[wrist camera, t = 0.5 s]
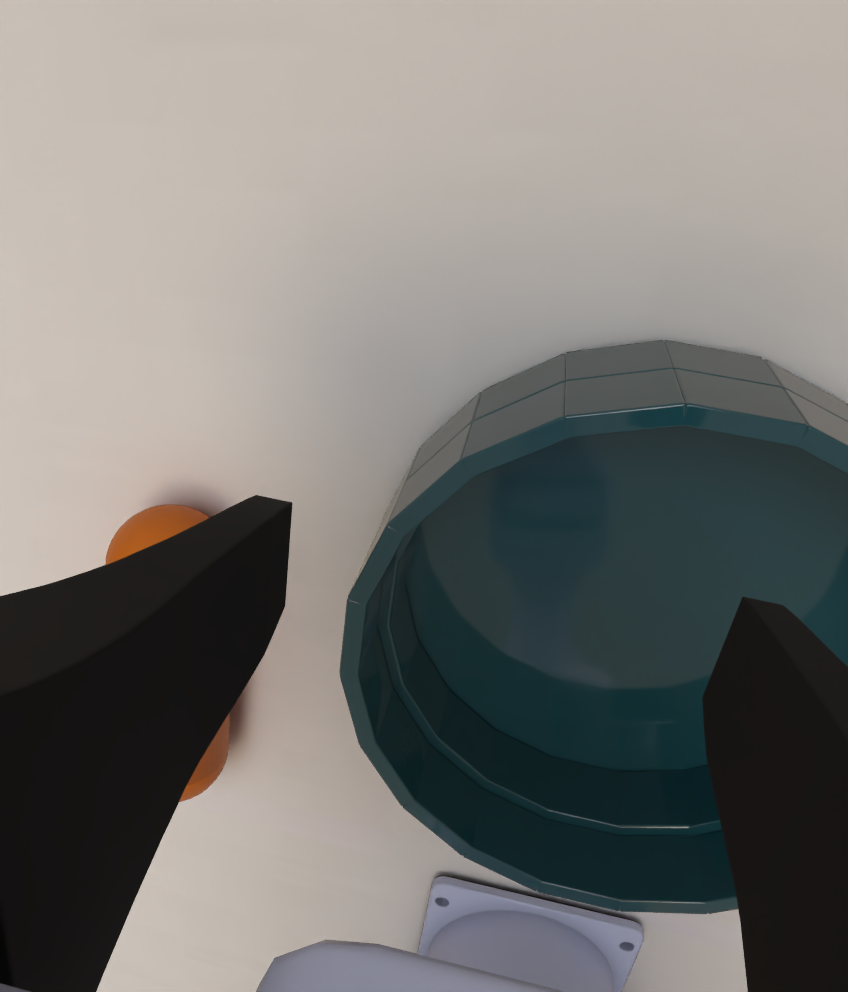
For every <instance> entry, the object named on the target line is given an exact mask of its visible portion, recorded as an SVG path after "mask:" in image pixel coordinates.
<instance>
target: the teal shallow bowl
mask: <svg viewBox="0 0 848 992" xmlns="http://www.w3.org/2000/svg"><path fill="white" fill-rule="evenodd" d="M742 597H747V598H752V599H757V600H762V601H766V602H771V603H776V604H781V605H784V606H785V607H786V608H787V609H788V610H790V611H791V612H792V613H793V614H794V615H795V616H796V617H797V618H799V619H800V620H801V621H802V622H803V623H804V624H805V625H806V626H807V627H808V628H809V629H810V630H811V631H812V632H813V633H814V634H815V635H816V636H817V637H818V638H819V639H820V640H821V641H822V642H823V643H824V644H825V645H826V646H827V647H828V648H829V649H830V650H831V651H832V652H833V653H834V654H835V655H836V656H837V657H838V658H839V659H840V660H841V661H842V662H843V663H844V664H845V665H846V666H847V667H848V404H846V403H845V402H844V401H843V400H841V399H839V398H837V397H835V396H833V395H832V394H830V393H828V392H826V391H824V390H822V389H820V388H819V387H817V386H815V385H813V384H811V383H809V382H807V381H806V380H804V379H802V378H800V377H798V376H796V375H794V374H792V373H791V372H789V371H787V370H785V369H783V368H781V367H779V366H778V365H776V364H774V363H772V362H770V361H768V360H766V359H762V357H759V356H753V355H748V354H742V353H736V352H730V351H725V350H719V349H713V348H707V347H702V346H696V345H690V344H685V343H679V342H673V341H667V340H665V341H663V340H659V341H652V342H644V343H636V344H628V345H620V346H612V347H604V348H596V349H588V350H580V351H572V352H567V353H566V354H562V355H560V356H557V357H555V358H553V359H551V360H549V361H546V362H544V363H542V364H540V365H537V366H535V367H533V368H531V369H529V370H526V371H524V372H522V373H520V374H518V375H515V376H513V377H511V378H509V379H506V380H504V381H502V382H500V383H498V384H495V385H493V386H491V387H489V388H487V389H484V390H483V392H480V393H479V394H477V395H476V396H475V397H474V398H473V399H472V400H471V401H470V402H469V403H468V404H467V405H465V406H464V407H463V408H462V409H461V410H460V411H459V412H458V413H457V414H456V415H455V416H453V417H452V418H451V419H450V420H449V421H448V422H447V423H446V424H445V425H444V426H442V427H441V428H440V429H439V430H438V431H437V432H436V433H435V434H434V435H433V436H432V437H430V438H429V439H428V440H427V441H426V442H425V443H424V444H423V445H422V446H421V448H419V450H418V452H417V454H416V455H415V457H414V459H413V461H412V463H411V465H410V467H409V469H408V471H407V472H406V474H405V476H404V478H403V480H402V482H401V484H400V486H399V488H398V489H397V491H396V493H395V495H394V497H393V499H392V501H391V503H390V505H389V507H388V508H387V510H386V512H385V515H384V517H383V519H382V521H381V524H380V526H379V528H378V530H377V533H376V535H375V537H374V539H373V541H372V544H371V546H370V548H369V551H368V553H367V555H366V557H365V559H364V562H363V564H362V566H361V568H360V571H359V573H358V575H357V577H356V580H355V582H354V584H353V586H352V588H351V591H350V593H349V595H348V599H347V605H346V614H345V624H344V633H343V643H342V653H341V662H340V678H341V682H342V685H343V689H344V692H345V696H346V700H347V703H348V707H349V710H350V714H351V717H352V721H353V725H354V728H355V732H356V735H357V739H358V742H359V745H360V747H361V748H362V750H363V751H364V753H365V754H366V756H367V757H368V759H369V760H370V761H371V763H372V764H373V766H374V767H375V769H376V770H377V772H378V773H379V774H380V776H381V777H382V779H383V780H384V782H385V783H386V784H387V786H388V787H389V789H390V790H391V792H392V793H393V795H394V796H395V797H396V799H397V800H398V802H399V803H400V805H401V806H403V808H404V809H405V810H406V811H408V812H409V813H410V814H411V815H413V816H414V817H415V818H416V819H417V820H419V821H420V822H421V823H422V824H424V825H425V826H426V827H427V828H428V829H430V830H431V831H432V832H433V833H435V834H436V835H437V836H438V837H440V838H441V839H442V840H443V841H444V842H446V843H447V844H448V845H449V846H451V847H452V848H453V849H454V850H455V851H457V852H458V853H459V854H460V855H463V856H464V857H465V858H467V859H469V860H471V861H473V862H475V863H478V864H480V865H482V866H484V867H486V868H488V869H490V870H492V871H494V872H496V873H498V874H501V875H503V876H505V877H507V878H509V879H511V880H513V881H515V882H517V883H519V884H521V885H524V886H526V887H528V888H530V889H532V890H534V891H537V892H540V893H544V894H548V895H553V896H557V897H561V898H565V899H569V900H574V901H578V902H582V903H586V904H590V905H595V906H599V907H603V908H607V909H611V910H616V911H619V910H620V911H622V912H653V913H685V914H707V913H709V914H712V913H718V912H723V911H729V910H735V909H738V903H737V898H736V892H735V886H734V882H733V877H732V873H731V868H730V864H729V859H728V855H727V850H726V846H725V841H724V837H723V832H722V828H721V823H720V819H719V814H718V810H717V805H716V800H715V796H714V791H713V786H712V782H711V777H710V772H709V767H708V762H707V757H706V748H705V736H704V721H703V702H702V697H703V694H704V692H705V689H706V687H707V684H708V682H709V679H710V677H711V674H712V672H713V669H714V667H715V664H716V662H717V659H718V657H719V654H720V652H721V649H722V647H723V644H724V642H725V639H726V637H727V634H728V632H729V629H730V627H731V624H732V622H733V619H734V617H735V614H736V612H737V609H738V607H739V604H740V602H741V599H742Z"/></svg>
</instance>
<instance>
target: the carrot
mask: <svg viewBox="0 0 848 992" xmlns="http://www.w3.org/2000/svg"><path fill="white" fill-rule="evenodd" d="M208 518H209V517H208V516H207V515H205V514H204V513H202V512H200V511H197V510H195V509H193V508H190V507H187V506H182V505H160V506H155V507H151V508H148V509H145V510H143V511H141V512H140V513H138V514H136V515H134V516H132V517H131V518H130V519H128V520H127V521H126V522H125V523H124V524H123V525H122V526H121V527H120V528H119V530H118V531H117V532H116V534H115V536H114V537H113V539H112V540H111V543H110V545H109V548H108V552H107V555H106V565H107V564H109V563H112V562H115V561H117V560H120V559H122V558H124V557H127V556H129V555H131V554H133V553H136V552H138V551H140V550H143V549H145V548H147V547H149V546H152V545H154V544H156V543H159V542H161V541H163V540H166V539H168V538H170V537H172V536H174V535H176V534H178V533H180V532H182V531H184V530H186V529H188V528H190V527H192V526H194V525H196V524H198V523H200V522H202V521H204V520H206V519H208ZM229 728H230V713H229V714H228V716H227V717H226V719H225V721H224V722H223V724H222V726H221V727H220V729H219V731H218V732H217V734H216V736H215V737H214V739H213V740H212V742H211V744H210V745H209V747H208V749H207V750H206V752H205V754H204V755H203V757H202V759H201V760H200V762H199V764H198V766H197V767H196V769H195V771H194V773H193V775H192V777H191V778H190V780H189V782H188V784H187V786H186V788H185V790H184V792H183V794H182V796H181V799H180V801H179V802H181V801H185V800H188V799H191V798H193V797H195V796H197V795H199V794H200V793H202V792H203V791H205V790H206V789H207V788H208V787H209V786H210V785H211V784H212V783H213V782H214V781H215V780H216V779H217V777H218V776H219V774H220V773H221V771H222V769H223V767H224V765H225V762H226V759H227V755H228V749H229Z"/></svg>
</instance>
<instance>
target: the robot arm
mask: <svg viewBox="0 0 848 992" xmlns="http://www.w3.org/2000/svg"><path fill="white" fill-rule="evenodd" d="M291 514H292V503H291V502H287V501H282V500H277V499H272V498H267V497H263V496H258V495H256V496H253V497H251V498H248V499H246V500H244V501H242V502H240V503H238V504H236V505H234V506H232V507H230V508H228V509H226V510H224V511H222V512H220V513H218V514H216V515H214V516H212V517H210V518H208V519H206V520H204V521H202V522H200V523H198V524H196V525H194V526H192V527H190V528H188V529H186V530H184V531H182V532H180V533H178V534H176V535H174V536H172V537H170V538H168V539H166V540H163V541H161V542H159V543H156V544H154V545H152V546H149V547H147V548H145V549H143V550H140V551H138V552H136V553H133V554H131V555H129V556H127V557H124V558H122V559H120V560H117V561H115V562H112V563H109V564H107V565H104V566H102V567H99V568H96V569H93V570H91V571H88V572H85V573H82V574H79V575H76V576H72V577H69V578H66V579H63V580H60V581H57V582H54V583H50V584H47V585H44V586H40V587H36V588H32V589H28V590H24V591H20V592H16V593H12V594H8V595H4V596H0V992H96V991H97V988H98V986H99V983H100V981H101V978H102V976H103V973H104V971H105V968H106V966H107V964H108V961H109V959H110V957H111V954H112V952H113V949H114V947H115V945H116V942H117V940H118V938H119V935H120V933H121V930H122V928H123V926H124V923H125V921H126V919H127V916H128V914H129V911H130V909H131V907H132V904H133V902H134V900H135V897H136V895H137V893H138V891H139V888H140V886H141V884H142V882H143V879H144V877H145V875H146V873H147V870H148V868H149V866H150V864H151V862H152V859H153V857H154V855H155V853H156V850H157V848H158V846H159V844H160V841H161V839H162V837H163V835H164V833H165V831H166V828H167V826H168V824H169V822H170V820H171V818H172V816H173V814H174V811H175V809H176V807H177V805H178V803H179V801H180V799H181V796H182V794H183V792H184V790H185V788H186V786H187V784H188V782H189V780H190V778H191V777H192V775H193V773H194V771H195V769H196V767H197V766H198V764H199V762H200V760H201V759H202V757H203V755H204V754H205V752H206V750H207V749H208V747H209V745H210V744H211V742H212V740H213V739H214V737H215V736H216V734H217V732H218V731H219V729H220V727H221V726H222V724H223V722H224V721H225V719H226V717H227V716H228V714H229V713H230V711H231V709H232V708H233V706H234V704H235V703H236V701H237V699H238V698H239V696H240V694H241V693H242V691H243V690H244V688H245V686H246V684H247V683H248V681H249V679H250V678H251V676H252V674H253V673H254V671H255V669H256V668H257V666H258V664H259V663H260V661H261V659H262V658H263V656H264V654H265V651H266V649H267V647H268V645H269V642H270V640H271V638H272V636H273V633H274V631H275V629H276V626H277V624H278V621H279V619H280V617H281V614H282V612H283V609H284V607H285V598H286V584H287V570H288V556H289V542H290V528H291ZM702 702H703V721H704V736H705V748H706V757H707V762H708V767H709V772H710V777H711V782H712V786H713V791H714V796H715V800H716V805H717V810H718V814H719V819H720V823H721V828H722V832H723V837H724V841H725V846H726V850H727V855H728V859H729V864H730V868H731V873H732V877H733V882H734V886H735V892H736V898H737V903H738V909H739V915H740V921H741V931H742V940H743V949H744V958H745V968H746V977H747V987H748V992H848V667H847V666H846V665H845V664H844V663H843V662H842V661H841V660H840V659H839V658H838V657H837V656H836V655H835V654H834V653H833V652H832V651H831V650H830V649H829V648H828V647H827V646H826V645H825V644H824V643H823V642H822V641H821V640H820V639H819V638H818V637H817V636H816V635H815V634H814V633H813V632H812V631H811V630H810V629H809V628H808V627H807V626H806V625H805V624H804V623H803V622H802V621H801V620H800V619H799V618H797V617H796V616H795V615H794V614H793V613H792V612H791V611H790V610H788V609H787V608H786V607H785V606H784V605H781V604H776V603H771V602H766V601H762V600H757V599H752V598H747V597H742V599H741V602H740V604H739V607H738V609H737V612H736V614H735V617H734V619H733V622H732V624H731V627H730V629H729V632H728V634H727V637H726V639H725V642H724V644H723V647H722V649H721V652H720V654H719V657H718V659H717V662H716V664H715V667H714V669H713V672H712V674H711V677H710V679H709V682H708V684H707V687H706V689H705V692H704V694H703V697H702ZM643 941H644V932H643V928H642V926H641V925H640V924H638V923H637V922H634V921H631V920H627V919H622V918H618V917H614V916H610V915H606V914H601V913H597V912H593V911H589V910H585V909H581V908H576V907H572V906H568V905H564V904H560V903H555V902H551V901H547V900H543V899H539V898H534V897H530V896H526V895H522V894H518V893H513V892H509V891H505V890H501V889H497V888H493V887H488V886H484V885H480V884H476V883H472V882H467V881H463V880H459V879H455V878H451V877H445V876H441V877H437V878H436V879H434V880H433V882H432V887H431V892H430V896H429V901H428V906H427V911H426V916H425V920H424V925H423V930H422V935H421V940H420V944H419V949H418V954H415V953H411V952H407V951H403V950H400V949H396V948H392V947H388V946H384V945H380V944H372V943H360V942H348V941H336V940H324V941H321V942H318V943H315V944H312V945H309V946H307V947H304V948H301V949H298V950H295V951H292V952H289V953H287V954H284V955H281V956H279V957H276V958H274V960H273V962H272V963H271V965H270V967H269V969H268V970H267V972H266V974H265V976H264V977H263V979H262V981H261V983H260V984H259V986H258V988H257V991H256V992H622V990H623V988H624V985H625V983H626V981H627V978H628V976H629V974H630V971H631V969H632V967H633V964H634V962H635V959H636V957H637V955H638V952H639V950H640V948H641V945H642V943H643Z"/></svg>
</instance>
